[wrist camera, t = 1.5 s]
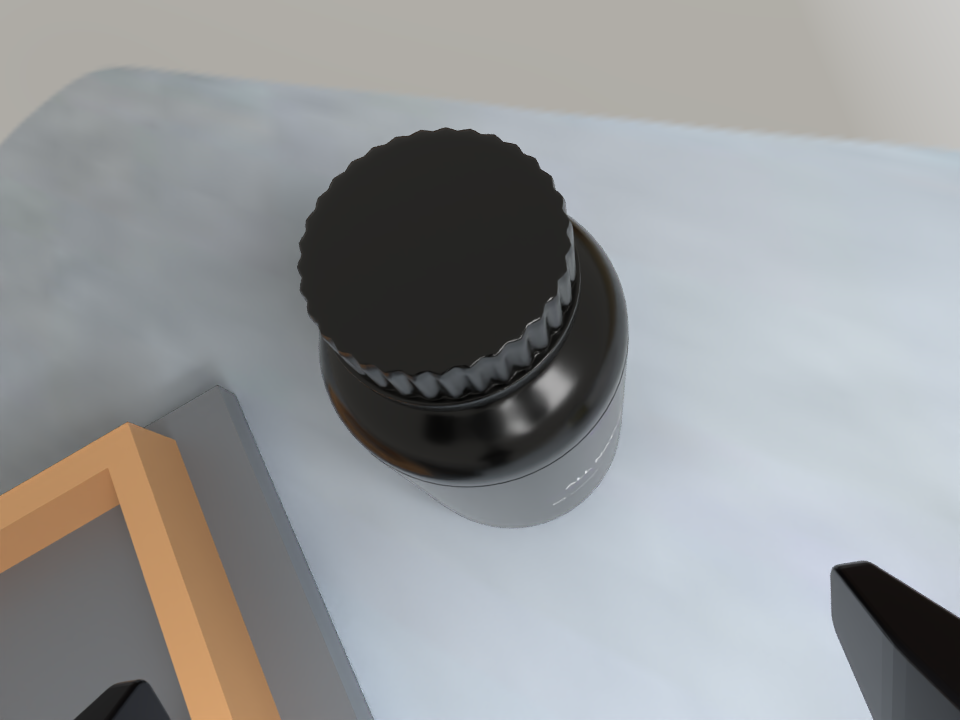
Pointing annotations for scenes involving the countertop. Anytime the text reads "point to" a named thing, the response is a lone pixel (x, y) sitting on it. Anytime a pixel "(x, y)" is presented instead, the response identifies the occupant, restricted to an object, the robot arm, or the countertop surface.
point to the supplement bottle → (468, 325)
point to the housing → (165, 581)
